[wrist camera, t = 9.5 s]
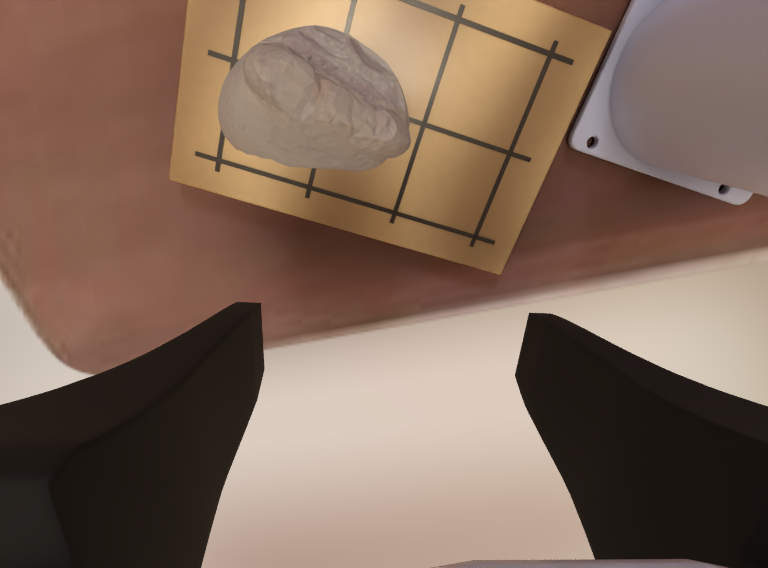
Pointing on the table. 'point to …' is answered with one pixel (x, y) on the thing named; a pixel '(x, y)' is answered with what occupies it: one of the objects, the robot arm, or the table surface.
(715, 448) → the robot arm
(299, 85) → the fossil
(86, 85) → the table surface
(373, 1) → the grid board
